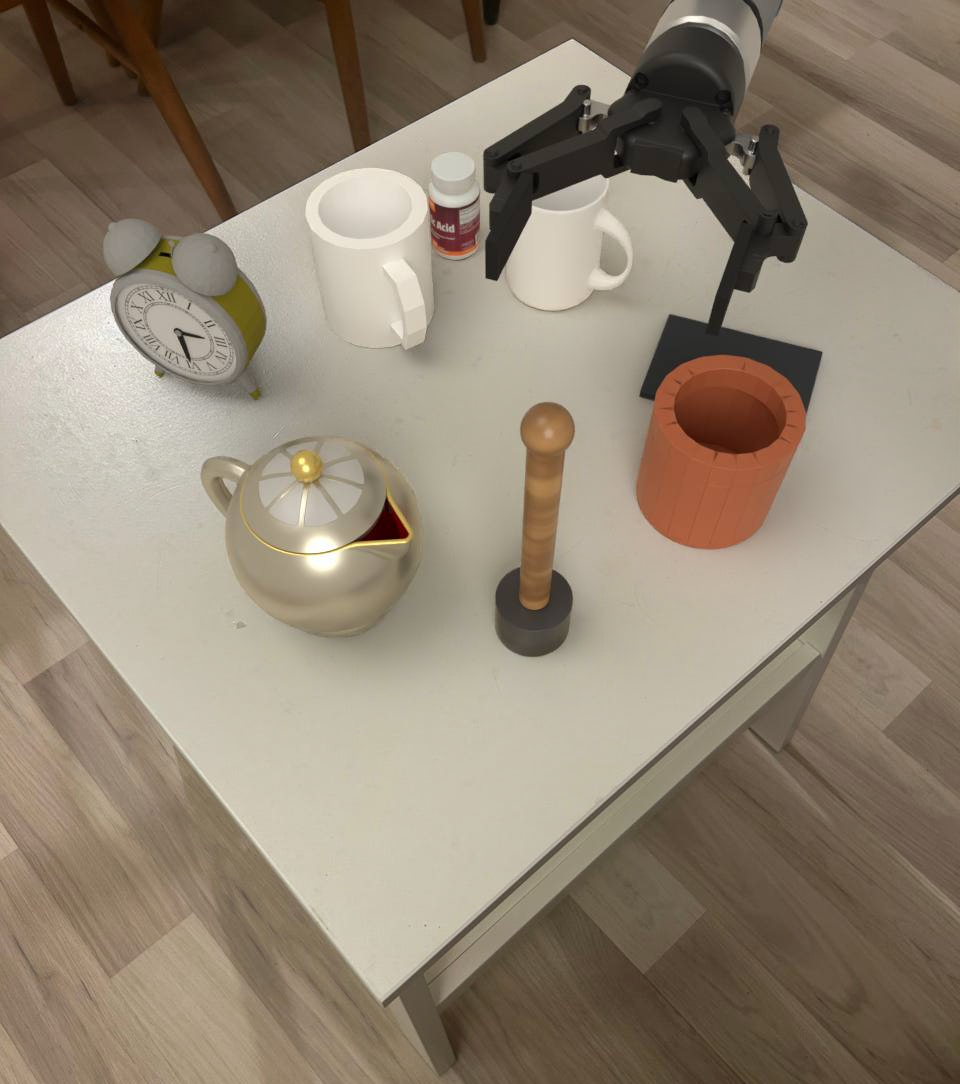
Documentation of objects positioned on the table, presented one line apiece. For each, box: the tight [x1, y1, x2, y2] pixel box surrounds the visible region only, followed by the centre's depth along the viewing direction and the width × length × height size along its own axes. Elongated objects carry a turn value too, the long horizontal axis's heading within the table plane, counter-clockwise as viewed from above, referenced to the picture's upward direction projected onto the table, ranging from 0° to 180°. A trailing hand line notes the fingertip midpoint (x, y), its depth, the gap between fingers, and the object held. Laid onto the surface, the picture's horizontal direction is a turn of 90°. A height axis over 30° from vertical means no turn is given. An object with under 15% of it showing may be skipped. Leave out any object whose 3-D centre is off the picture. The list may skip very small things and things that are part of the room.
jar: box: [635, 355, 807, 550], centre depth 72 cm, size 11×11×10 cm
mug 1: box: [305, 167, 435, 351], centre depth 81 cm, size 14×10×11 cm
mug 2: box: [505, 175, 634, 312], centre depth 83 cm, size 9×12×11 cm
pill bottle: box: [427, 151, 481, 261], centre depth 87 cm, size 5×5×8 cm
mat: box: [639, 313, 824, 415], centre depth 82 cm, size 14×10×1 cm
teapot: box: [200, 435, 424, 639], centre depth 65 cm, size 18×14×16 cm
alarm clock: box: [102, 218, 268, 400], centre depth 76 cm, size 12×7×15 cm, turn 73°
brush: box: [494, 401, 576, 658], centre depth 60 cm, size 6×6×24 cm
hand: (601, 289), depth 54 cm, fingers open, 13 cm apart
